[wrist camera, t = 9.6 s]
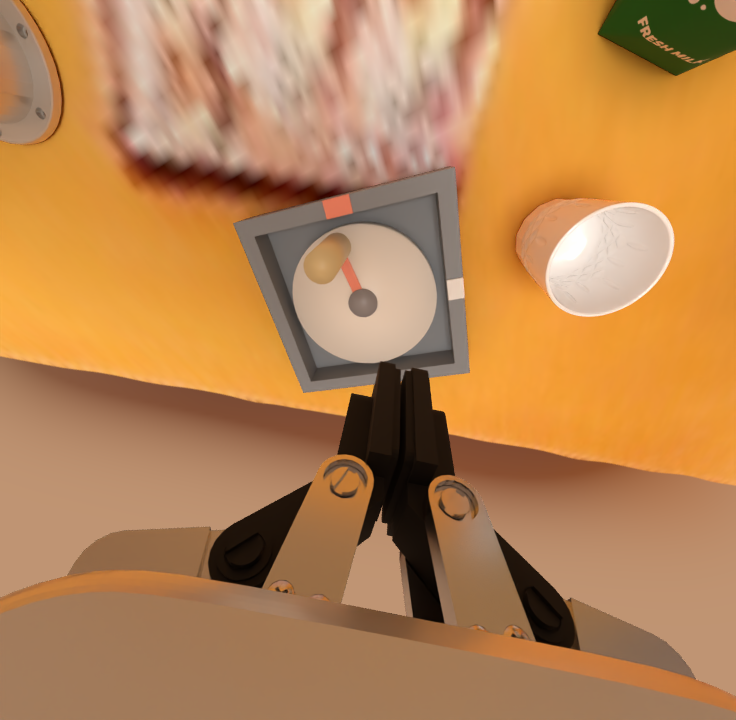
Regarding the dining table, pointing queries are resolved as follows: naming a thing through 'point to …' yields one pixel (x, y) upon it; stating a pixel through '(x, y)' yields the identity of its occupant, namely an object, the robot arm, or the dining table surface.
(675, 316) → the dining table surface
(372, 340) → the dial
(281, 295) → the dial housing
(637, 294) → the white cup
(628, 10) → the milk carton
